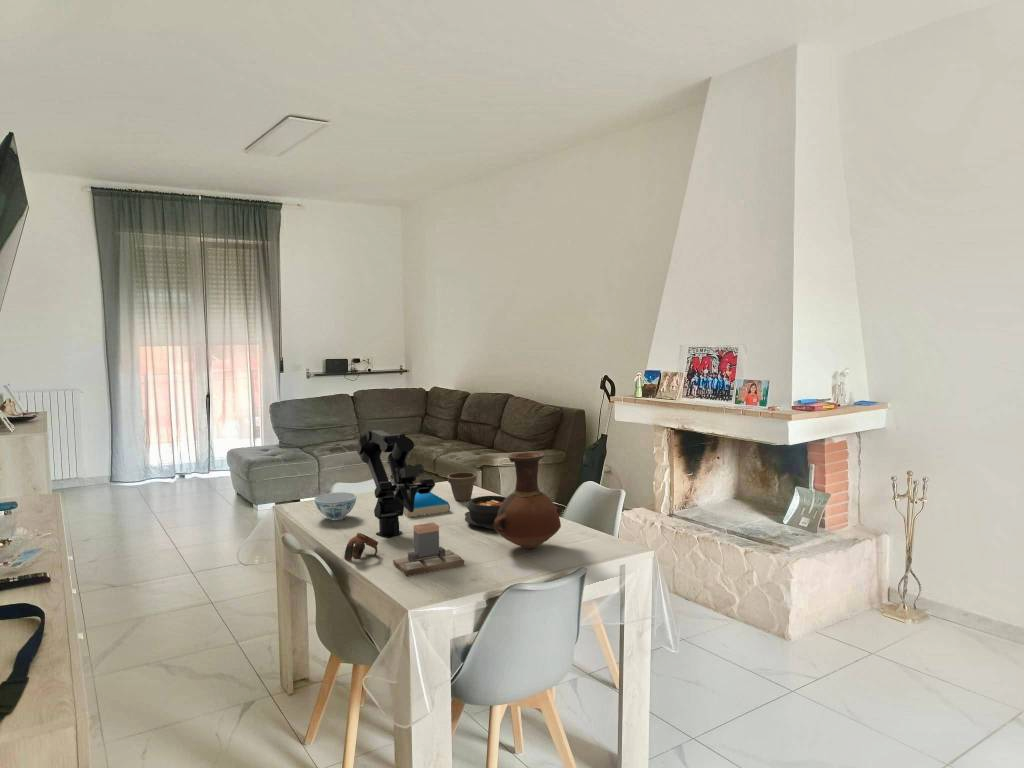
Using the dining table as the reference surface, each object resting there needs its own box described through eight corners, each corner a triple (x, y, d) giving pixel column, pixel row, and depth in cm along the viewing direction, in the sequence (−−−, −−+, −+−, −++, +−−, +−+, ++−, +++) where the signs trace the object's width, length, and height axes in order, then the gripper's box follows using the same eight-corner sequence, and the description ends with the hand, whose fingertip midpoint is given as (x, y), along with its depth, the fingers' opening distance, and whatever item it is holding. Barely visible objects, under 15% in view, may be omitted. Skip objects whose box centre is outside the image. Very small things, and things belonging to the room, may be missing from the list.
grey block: (413, 557, 208) (412, 525, 207) (434, 553, 211) (434, 522, 210) (418, 561, 205) (417, 529, 204) (440, 557, 208) (439, 525, 207)
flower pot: (452, 504, 275) (452, 479, 274) (444, 497, 286) (444, 473, 285) (480, 501, 279) (479, 476, 278) (471, 494, 290) (471, 470, 289)
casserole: (531, 528, 242) (531, 505, 241) (482, 537, 233) (482, 512, 232) (498, 511, 264) (498, 490, 263) (453, 518, 255) (452, 496, 254)
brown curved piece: (343, 554, 218) (355, 530, 220) (370, 567, 219) (383, 543, 220) (338, 557, 207) (351, 531, 208) (367, 571, 207) (380, 545, 208)
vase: (535, 533, 236) (535, 445, 234) (578, 547, 221) (578, 453, 219) (478, 549, 220) (476, 455, 218) (519, 565, 205) (518, 464, 203)
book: (407, 508, 257) (385, 493, 279) (407, 519, 257) (385, 503, 279) (450, 502, 265) (425, 487, 287) (450, 513, 265) (426, 497, 287)
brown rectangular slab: (393, 564, 207) (393, 552, 207) (449, 554, 216) (449, 542, 216) (406, 576, 198) (406, 563, 197) (464, 565, 206) (464, 552, 206)
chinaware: (307, 521, 253) (306, 500, 252) (329, 511, 267) (328, 491, 267) (343, 524, 249) (343, 503, 248) (364, 513, 263) (363, 493, 262)
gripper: (380, 456, 214) (392, 501, 206) (434, 453, 225) (448, 496, 217) (369, 475, 222) (380, 519, 214) (422, 471, 232) (435, 513, 224)
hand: (412, 511), depth 217 cm, fingers closed
